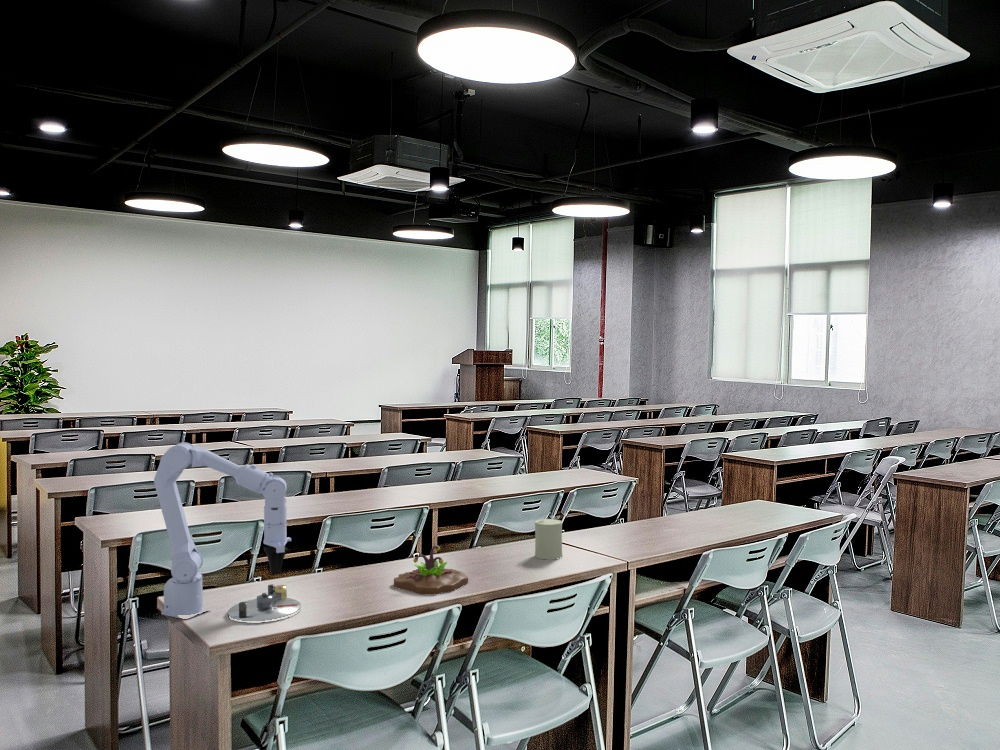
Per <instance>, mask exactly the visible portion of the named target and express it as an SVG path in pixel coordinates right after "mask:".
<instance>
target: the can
mask: <svg viewBox="0 0 1000 750" xmlns="http://www.w3.org/2000/svg"><path fill="white" fill-rule="evenodd" d="M534 534H535V535H534V537H535V539H534V540H535V541H534V542H535V544H534V546H535V547H534V549H535V551H534V553H535V554H534V557H535V558H536V559H539V560H544V559H546V560H547V559H549V560H548V561H551V560H550V559H554V560H558V559H557V558H559V559H561V558H560V557H562V558H563V557H564V554H563V521H562V520H560V519H556V518H542V519H537V520H535V521H534Z"/></svg>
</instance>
